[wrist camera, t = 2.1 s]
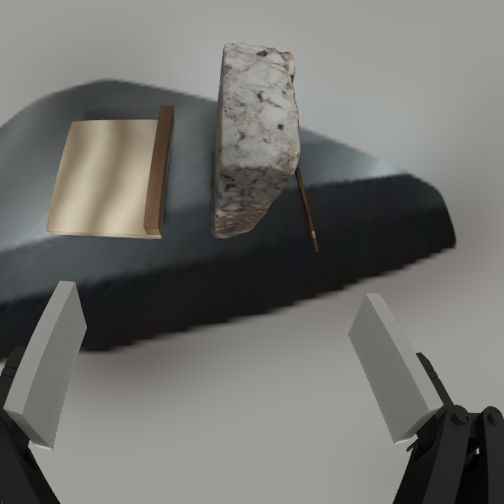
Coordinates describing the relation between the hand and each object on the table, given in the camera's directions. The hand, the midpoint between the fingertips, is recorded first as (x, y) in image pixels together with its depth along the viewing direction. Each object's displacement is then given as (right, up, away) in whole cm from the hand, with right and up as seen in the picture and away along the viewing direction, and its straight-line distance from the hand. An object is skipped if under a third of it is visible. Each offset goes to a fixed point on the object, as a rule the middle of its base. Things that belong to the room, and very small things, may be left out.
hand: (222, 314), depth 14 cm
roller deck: (-16, +11, +25) cm, 31 cm away
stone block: (-2, +10, +27) cm, 29 cm away
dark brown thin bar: (+8, +10, +30) cm, 32 cm away
